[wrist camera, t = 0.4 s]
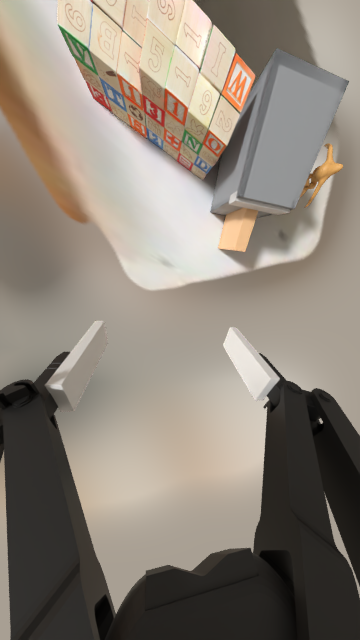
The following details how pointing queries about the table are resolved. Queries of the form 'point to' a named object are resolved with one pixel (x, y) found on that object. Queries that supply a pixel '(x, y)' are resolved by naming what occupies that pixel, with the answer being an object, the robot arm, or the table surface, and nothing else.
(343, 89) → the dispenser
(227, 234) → the light orange rectangular block
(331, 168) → the figurine
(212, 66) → the stack of blocks
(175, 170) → the table surface
